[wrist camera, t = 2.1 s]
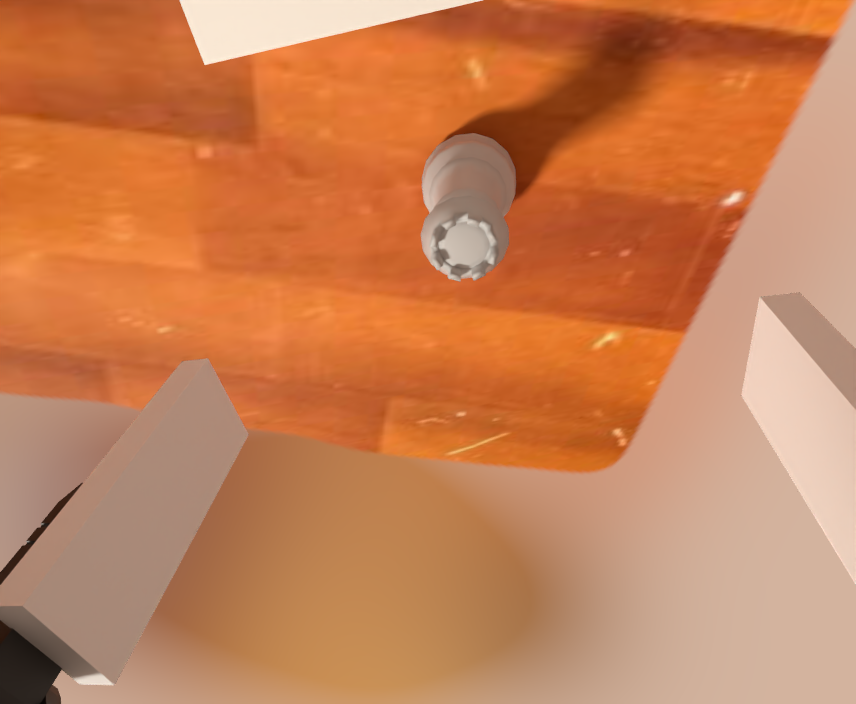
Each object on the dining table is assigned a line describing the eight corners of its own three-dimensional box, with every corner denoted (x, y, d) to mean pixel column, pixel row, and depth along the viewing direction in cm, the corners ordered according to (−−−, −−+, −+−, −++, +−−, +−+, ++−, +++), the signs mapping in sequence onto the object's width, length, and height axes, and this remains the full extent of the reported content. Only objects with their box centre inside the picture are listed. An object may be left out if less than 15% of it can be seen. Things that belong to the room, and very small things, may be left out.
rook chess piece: (449, 111, 23) (436, 163, 17) (534, 159, 24) (553, 225, 18) (407, 198, 26) (382, 272, 19) (486, 238, 27) (487, 322, 20)
